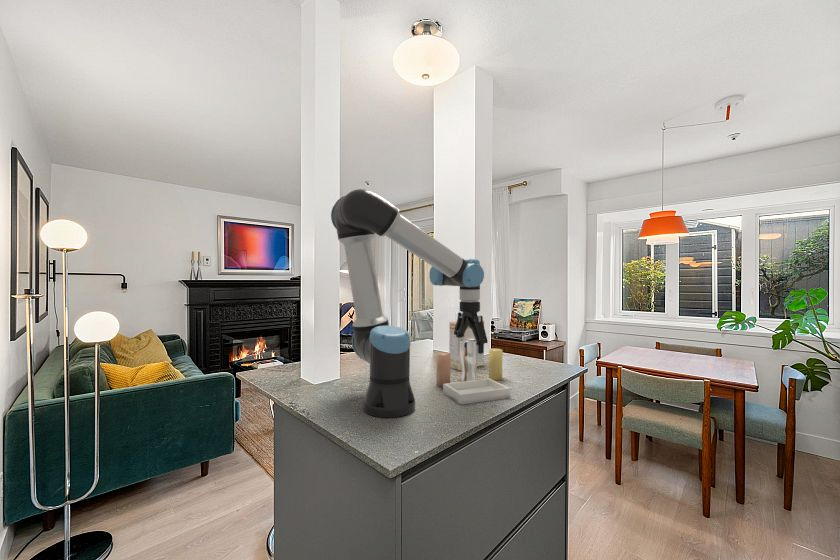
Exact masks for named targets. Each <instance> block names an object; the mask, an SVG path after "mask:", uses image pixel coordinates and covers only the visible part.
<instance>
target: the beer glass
mask: <svg viewBox="0 0 840 560" xmlns="http://www.w3.org/2000/svg"><path fill="white" fill-rule="evenodd" d="M476 343H477V342H476V340H475V339H462V340H460V361H461V367H462V370H461V375H460V382H463V381H471V380H478V378H477V363H476Z"/></svg>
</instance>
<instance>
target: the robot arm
mask: <svg viewBox="0 0 840 560" xmlns="http://www.w3.org/2000/svg"><path fill="white" fill-rule="evenodd" d="M330 218H331V219H330V220H331V224H332V226H333V227H334V228H335V229H336V234H337V238H338V242H339V243H341V244H343V247H344V251H345V257H346V259H345V260H346V266H347V271H348V276H349V277H348V278H349V281H350V289H351V294H352V300H353V301H352V302H353V308H354V314H355V320H354V321H353V323H352V330H353V334H352V336H351V345H352V350H353V351H354V352H355V354H356V355H357V357H359V358H360V360H361V359H362V360H363V361H365V362H367V363H368V364H369V383H368V386H367V389H366V393H365V396H364V399H363V405H362V406H363V411H364V413H366V414H368V415H370V416H373V417H378V418H388V419H389V418H399V417H403V416H408V415H410V414H411V413H413V412H415V410H416V399H415V396H414V393H413V389H412V386H411V383H410V372H411V371H410V370H411V369H410V366H411V365H410V362H411V361H410V360H411V359H410V357H411V339H410V338H411V337H410V334H409V333H410V332H409V331H408V330H407V329H406V328H403V327H401V326H395V325H390V323H389V318H388V317H387V316H386V315H384V313H383V310H382V309H383V308H382V302H381V295H380V290H379V283H378V277H377V269H376V264H375V263H376V262H375V259H374V258H375V257H374V251H373V250H374V249H373V244H372V240H373V239H374V237H375V236H376V235H378V236H379V237H386V238H388V239H390V240H392V241H393V242H394V243H396V244H397V245H399V246H401V247H402V248H403V249H405V250H406V251H408V252H410V253H411V254H413V255H415V256H416V257H417V258H419V259H420V260H422V261H424V263H427V264H428V265H429V266H431V267H430V269H429V272H428V273H429V281H430V283H431V284H432V285H434V286H440V287H442V286H447V287H448V286H449V287H450V286H451V287H459V300H460V301H459V311H458V312H457V319H456V321H457V323H456V327H455V331H454V335H456V337H457V355H460V340H462V339H464V333H465V331H466V329H467V327H468V326H469V327H470V328H471V329H472V331H473V334H474V336H475V339H476V342H477V343H476V363H480V362H483V352H484V353H485V345H486V344H488V342H489V341H488V337H487V333H486V329H485V324H484V325H483V321H484V318H483V315H478V313H479V312H480V311H481V302H480V300H481V284H482V283H483V281H484V279H485V271H484V268H483V267H482V265H481V264H480V263H481V262H480V260H479V259H477V258H463V257H461V256H459V255H458V254H457V253H456V252H454V251H453V250H451V249H450V248H448V247H447V246H446V245H444V244H443V243H441V242H440V241H438V240H437V239H436V238H434V237H432V236H431V235H430V234H428V233H427V232H426V231H424V230H423V229H422V228H420V227H418V226H417V225H416V224H414V223H413V222H411V221H410V220H409V219H407V218H406V217H405V216H403V215H401V213H400V209H399V208H398V207H396V206H395V205H394V204H392V203H391V202H389V201H388V200H386V199H385V198H383V197H382V196H381V195H379V194H377V193H375V192H373V191H371V190H368V189H364V188H363V189H362V188H359V189H354V190H352V191H350V192H348V193H347V194H346V195H343V196H341V197H340V198H339V199H337V201H336V202H335V203H334V205H333V206H332V208H331V212H330ZM475 324H476V325H475ZM457 331H458V332H457Z"/></svg>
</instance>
